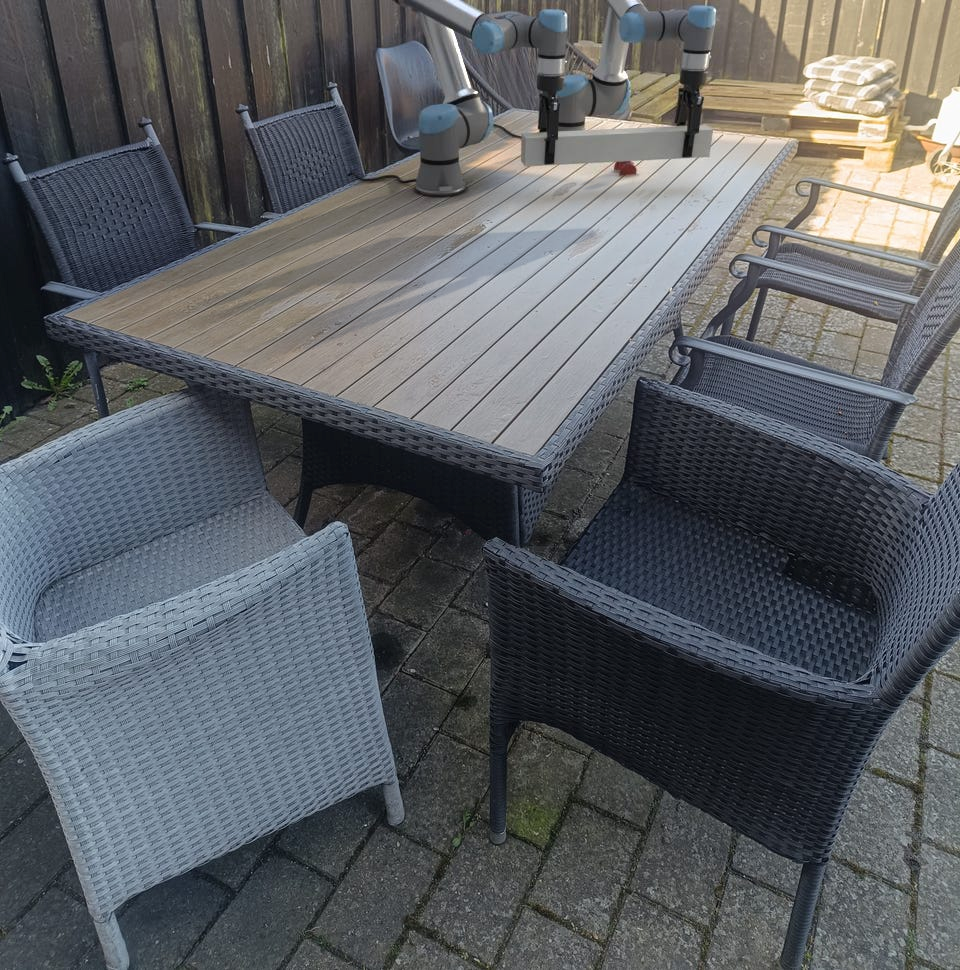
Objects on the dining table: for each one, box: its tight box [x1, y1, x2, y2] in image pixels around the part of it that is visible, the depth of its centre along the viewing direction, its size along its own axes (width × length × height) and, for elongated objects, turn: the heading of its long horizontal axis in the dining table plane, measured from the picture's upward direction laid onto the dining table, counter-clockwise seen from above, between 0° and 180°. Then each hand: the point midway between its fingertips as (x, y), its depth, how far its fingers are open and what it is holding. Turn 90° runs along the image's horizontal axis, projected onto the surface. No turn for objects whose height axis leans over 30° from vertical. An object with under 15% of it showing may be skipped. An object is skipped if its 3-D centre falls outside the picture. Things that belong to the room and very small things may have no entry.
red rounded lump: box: [613, 161, 638, 176], centre depth 272 cm, size 6×4×8 cm
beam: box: [520, 124, 714, 167], centre depth 247 cm, size 56×6×8 cm, turn 99°
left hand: (546, 160), depth 246 cm, fingers closed on beam, 6 cm apart
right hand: (682, 153), depth 251 cm, fingers closed on beam, 6 cm apart
